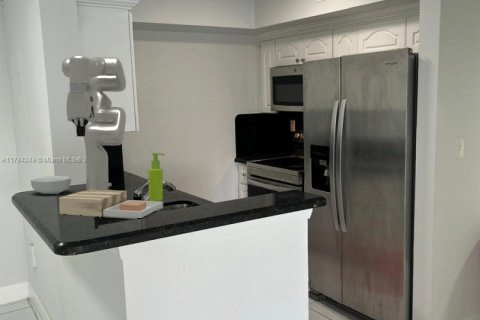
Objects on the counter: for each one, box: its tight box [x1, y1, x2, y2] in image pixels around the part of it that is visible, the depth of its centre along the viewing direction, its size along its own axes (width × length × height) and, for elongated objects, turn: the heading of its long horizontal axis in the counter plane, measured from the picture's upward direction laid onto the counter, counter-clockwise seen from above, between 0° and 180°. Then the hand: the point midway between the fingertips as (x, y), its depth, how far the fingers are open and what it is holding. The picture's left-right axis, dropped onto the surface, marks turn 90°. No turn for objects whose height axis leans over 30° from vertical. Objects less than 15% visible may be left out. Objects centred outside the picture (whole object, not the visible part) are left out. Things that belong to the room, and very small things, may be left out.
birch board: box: [58, 189, 128, 218], centre depth 167 cm, size 20×16×6 cm
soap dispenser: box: [148, 152, 166, 202], centre depth 189 cm, size 6×7×20 cm
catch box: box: [102, 199, 164, 220], centre depth 164 cm, size 20×14×2 cm
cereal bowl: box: [30, 175, 72, 195], centre depth 203 cm, size 17×17×7 cm
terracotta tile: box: [120, 200, 146, 211], centre depth 163 cm, size 7×7×3 cm
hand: (80, 136), depth 175 cm, fingers closed
